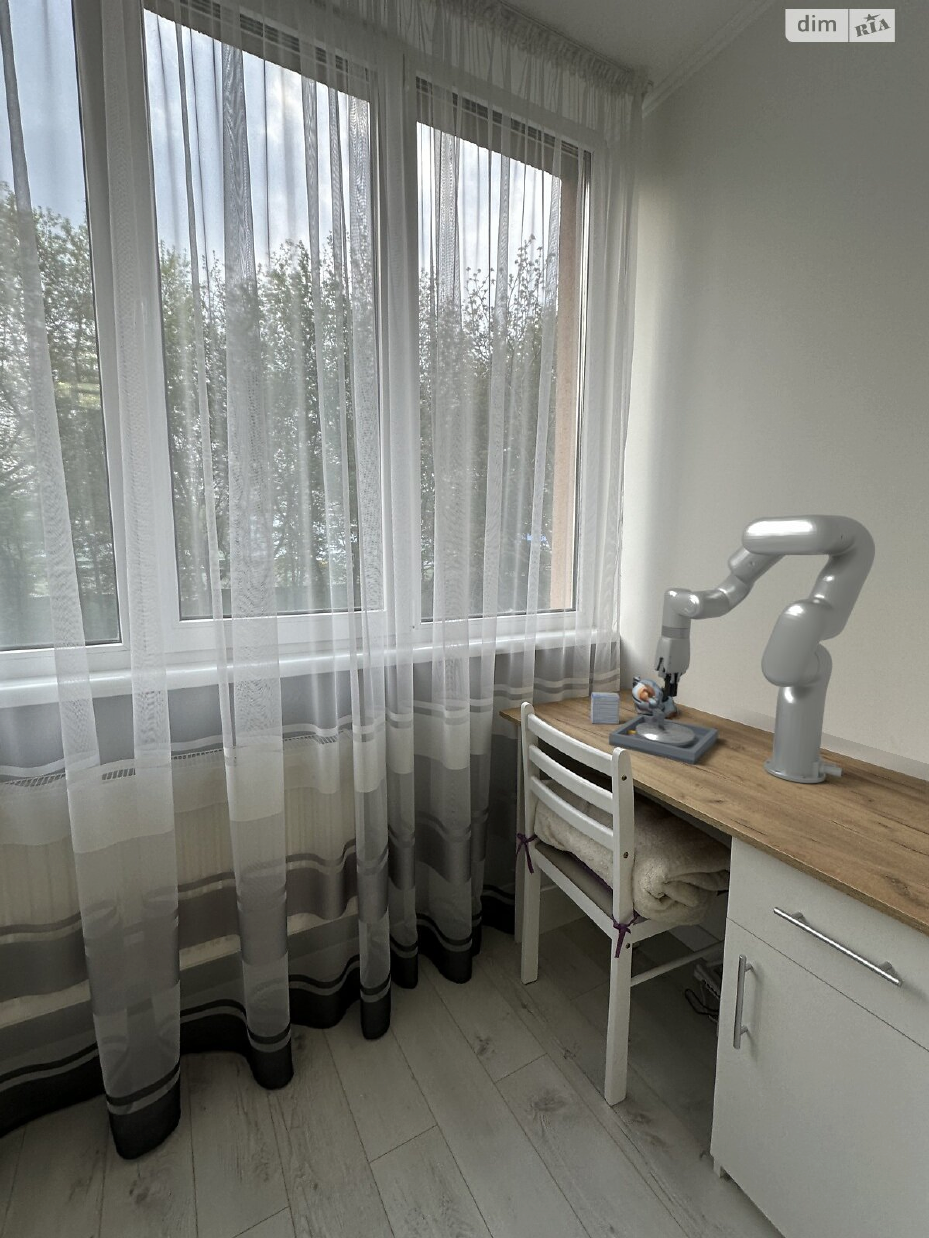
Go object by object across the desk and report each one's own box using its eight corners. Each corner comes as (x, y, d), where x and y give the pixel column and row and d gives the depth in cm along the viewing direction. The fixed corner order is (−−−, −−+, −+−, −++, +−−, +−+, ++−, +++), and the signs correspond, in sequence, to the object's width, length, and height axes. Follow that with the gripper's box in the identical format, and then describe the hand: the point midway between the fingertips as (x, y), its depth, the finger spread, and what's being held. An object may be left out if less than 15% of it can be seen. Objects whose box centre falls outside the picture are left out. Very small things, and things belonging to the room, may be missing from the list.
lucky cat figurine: (685, 719, 173) (676, 684, 167) (648, 733, 173) (638, 699, 167) (664, 692, 186) (654, 659, 180) (630, 706, 187) (619, 673, 181)
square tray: (717, 739, 155) (718, 729, 154) (693, 764, 138) (694, 753, 137) (639, 723, 168) (640, 714, 168) (608, 744, 151) (609, 733, 151)
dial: (703, 747, 145) (705, 725, 145) (646, 747, 145) (647, 725, 144) (680, 728, 160) (681, 707, 159) (628, 728, 160) (629, 708, 159)
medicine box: (616, 720, 172) (617, 692, 170) (618, 724, 167) (620, 696, 166) (590, 719, 172) (591, 691, 171) (591, 723, 168) (592, 695, 167)
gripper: (681, 628, 165) (676, 688, 168) (646, 632, 157) (642, 695, 160) (704, 632, 158) (698, 695, 161) (669, 637, 150) (663, 703, 154)
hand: (670, 695), depth 161 cm, fingers closed
